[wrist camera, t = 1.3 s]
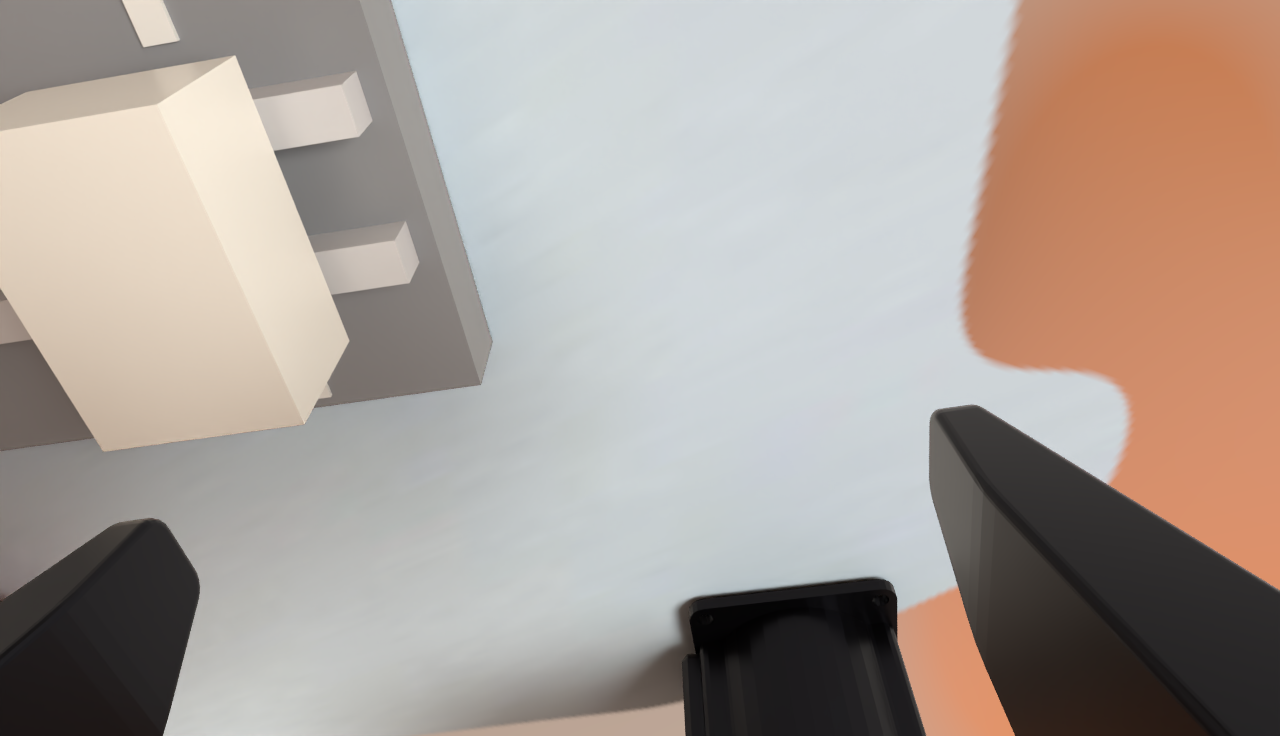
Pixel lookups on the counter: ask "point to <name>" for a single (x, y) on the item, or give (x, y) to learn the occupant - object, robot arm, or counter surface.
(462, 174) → the counter surface
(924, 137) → the counter surface
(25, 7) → the fader console
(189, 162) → the fader tab
